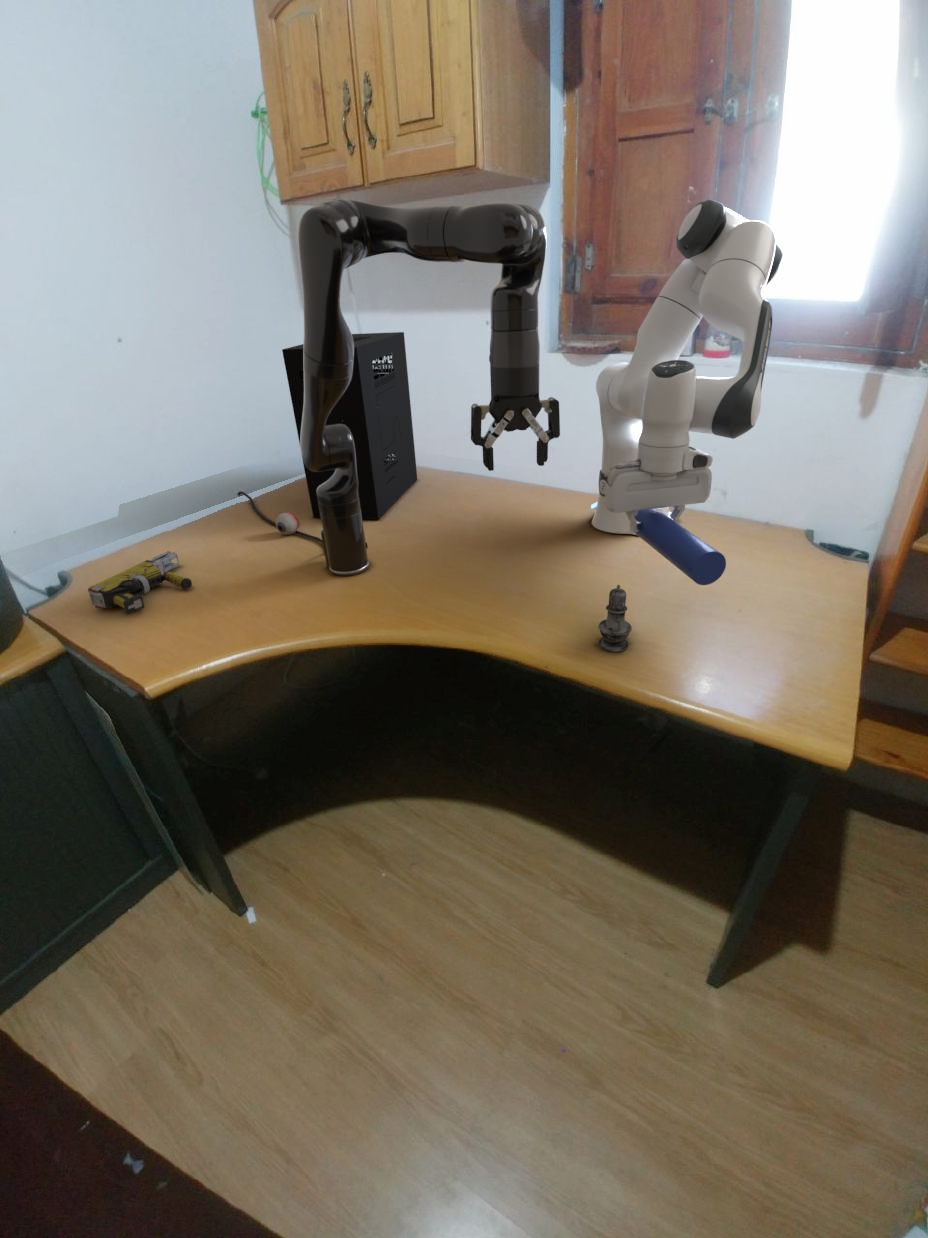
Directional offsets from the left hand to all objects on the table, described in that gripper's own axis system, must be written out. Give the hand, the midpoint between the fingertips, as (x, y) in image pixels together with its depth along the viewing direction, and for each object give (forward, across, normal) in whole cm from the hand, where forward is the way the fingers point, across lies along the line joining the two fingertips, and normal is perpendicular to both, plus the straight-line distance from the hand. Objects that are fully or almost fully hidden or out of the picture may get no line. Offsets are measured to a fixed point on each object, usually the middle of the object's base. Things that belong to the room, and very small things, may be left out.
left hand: (515, 467), depth 100 cm
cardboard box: (+32, -25, +89) cm, 98 cm away
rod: (+20, +29, -2) cm, 35 cm away
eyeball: (+32, -48, +64) cm, 86 cm away
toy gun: (+32, -76, +37) cm, 90 cm away
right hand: (+17, +29, +7) cm, 34 cm away
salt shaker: (+32, +16, -10) cm, 36 cm away
